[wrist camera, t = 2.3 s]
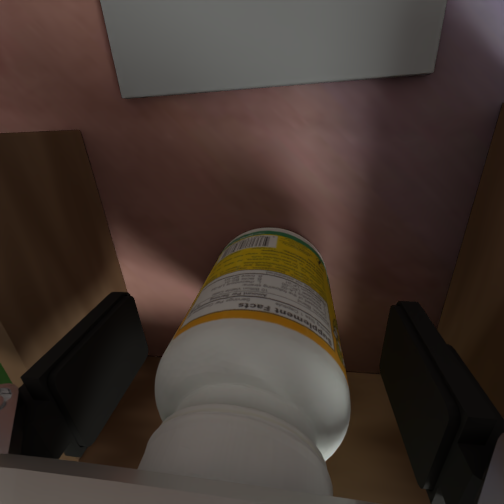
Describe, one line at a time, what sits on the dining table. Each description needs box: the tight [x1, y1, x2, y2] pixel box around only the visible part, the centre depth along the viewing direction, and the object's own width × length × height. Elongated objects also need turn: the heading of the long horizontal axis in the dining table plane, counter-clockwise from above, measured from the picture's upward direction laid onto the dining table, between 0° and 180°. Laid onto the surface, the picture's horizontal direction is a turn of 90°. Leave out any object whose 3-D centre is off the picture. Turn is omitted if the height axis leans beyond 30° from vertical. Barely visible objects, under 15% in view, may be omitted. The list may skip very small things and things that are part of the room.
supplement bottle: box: [138, 227, 351, 496], centre depth 9 cm, size 5×5×10 cm
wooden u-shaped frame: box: [0, 103, 504, 504], centre depth 11 cm, size 18×14×6 cm
